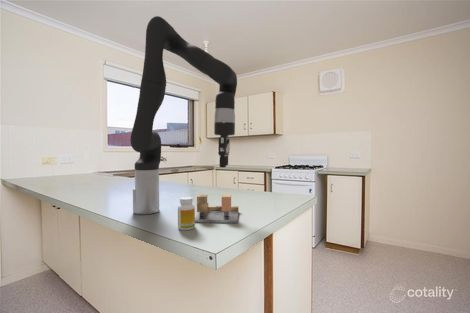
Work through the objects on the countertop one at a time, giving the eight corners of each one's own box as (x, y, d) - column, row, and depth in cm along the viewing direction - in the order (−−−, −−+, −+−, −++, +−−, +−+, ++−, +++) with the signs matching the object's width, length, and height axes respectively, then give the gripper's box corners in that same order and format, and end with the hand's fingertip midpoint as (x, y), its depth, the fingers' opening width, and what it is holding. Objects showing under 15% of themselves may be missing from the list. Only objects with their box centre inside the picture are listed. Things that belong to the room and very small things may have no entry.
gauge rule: (195, 219, 85) (195, 196, 84) (201, 211, 96) (201, 190, 95) (237, 220, 84) (237, 197, 83) (238, 212, 95) (238, 191, 94)
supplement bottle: (198, 227, 77) (198, 197, 76) (184, 231, 73) (184, 200, 72) (188, 223, 80) (188, 195, 80) (174, 227, 76) (174, 198, 76)
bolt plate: (194, 222, 82) (194, 219, 82) (200, 213, 93) (200, 210, 93) (237, 223, 81) (237, 220, 81) (238, 214, 92) (238, 211, 92)
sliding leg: (221, 216, 84) (221, 196, 84) (222, 213, 87) (222, 194, 87) (230, 216, 84) (230, 197, 84) (231, 213, 87) (231, 195, 87)
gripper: (217, 124, 93) (216, 164, 94) (211, 119, 79) (210, 167, 80) (236, 124, 93) (235, 165, 93) (233, 120, 78) (232, 168, 79)
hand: (224, 166), depth 86 cm, fingers open, 8 cm apart
